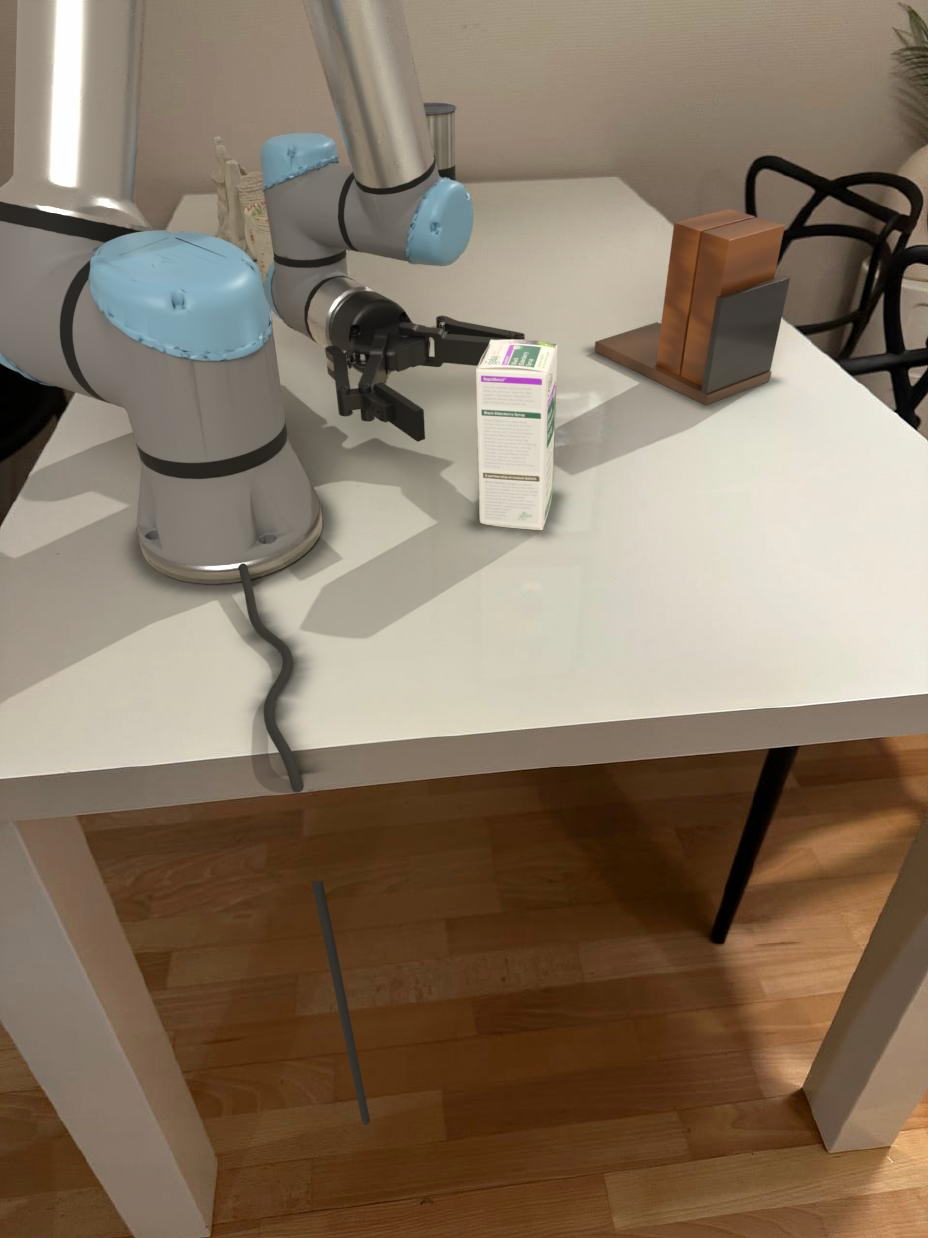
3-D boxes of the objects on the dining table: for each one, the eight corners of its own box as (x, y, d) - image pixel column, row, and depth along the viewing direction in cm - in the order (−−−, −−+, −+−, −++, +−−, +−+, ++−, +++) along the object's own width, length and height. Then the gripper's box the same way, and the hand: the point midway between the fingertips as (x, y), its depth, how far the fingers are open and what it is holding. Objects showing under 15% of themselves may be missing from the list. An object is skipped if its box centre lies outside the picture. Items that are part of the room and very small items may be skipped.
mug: (281, 300, 120) (270, 221, 113) (225, 279, 126) (212, 204, 120) (328, 283, 124) (320, 207, 118) (272, 264, 131) (261, 191, 125)
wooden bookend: (769, 381, 98) (803, 226, 88) (706, 405, 94) (733, 245, 84) (655, 331, 110) (673, 188, 99) (594, 351, 105) (606, 204, 95)
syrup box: (544, 532, 76) (552, 370, 67) (476, 525, 77) (475, 365, 68) (552, 497, 80) (561, 340, 71) (488, 491, 81) (488, 336, 72)
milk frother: (434, 193, 160) (431, 98, 150) (496, 210, 151) (496, 111, 141) (372, 209, 152) (364, 111, 143) (432, 229, 143) (428, 125, 134)
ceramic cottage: (229, 262, 131) (216, 147, 122) (207, 236, 143) (193, 130, 134) (332, 254, 137) (325, 144, 128) (302, 230, 149) (295, 127, 140)
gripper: (462, 334, 98) (593, 404, 84) (253, 395, 87) (364, 486, 73) (461, 264, 93) (599, 325, 79) (239, 319, 82) (356, 402, 68)
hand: (487, 403), depth 76 cm, fingers open, 13 cm apart
